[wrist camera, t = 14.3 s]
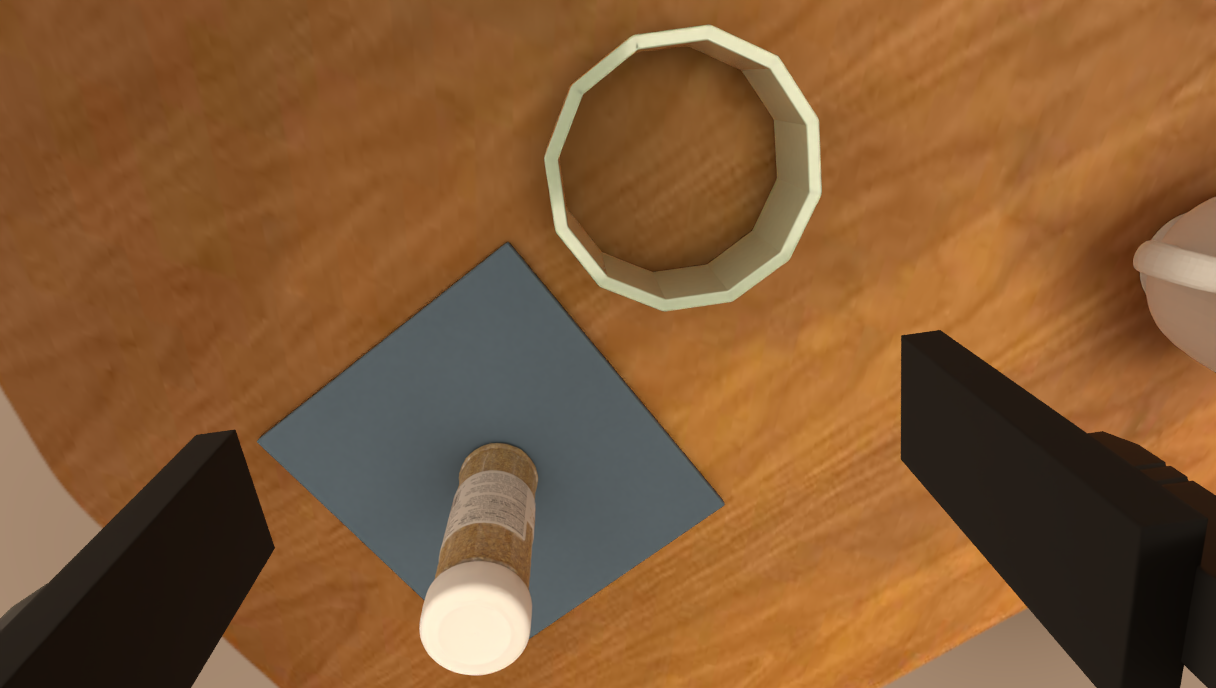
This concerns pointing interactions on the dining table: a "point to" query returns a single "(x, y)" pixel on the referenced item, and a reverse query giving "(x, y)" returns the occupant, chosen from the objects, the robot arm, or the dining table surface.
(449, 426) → the rubber mat
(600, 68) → the pale green ring
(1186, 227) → the teacup
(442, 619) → the sprinkles bottle
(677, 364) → the dining table surface
